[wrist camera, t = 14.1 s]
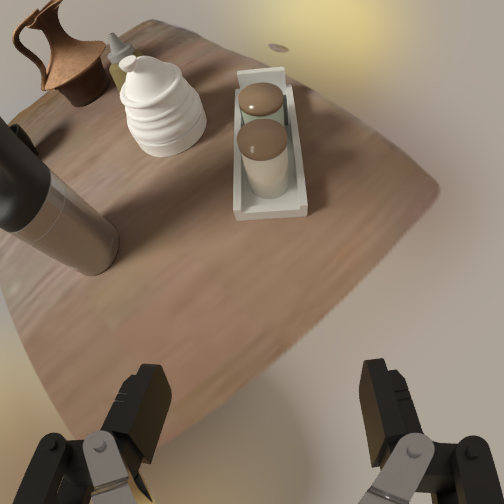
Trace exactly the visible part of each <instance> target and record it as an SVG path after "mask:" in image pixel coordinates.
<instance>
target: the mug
mask: <svg viewBox="0 0 504 504" xmlns="http://www.w3.org/2000/svg"><path fill="white" fill-rule="evenodd" d="M9 128H10V129H11V130H12V131H13V132H14V133H15V135H16V136H17V137H18V138H19V139H20V140H21V141H22V142H23V143H24V144H25V145H26V146H27V147H28V148H29V149H30V150H31V151H32V152H33V153H34V154H35V155H36V156H37V157H38V153H37V151H36V149H35V147H34V145H33V143H32V141H31V140H30V138H29V136H28V135H27V134H26V132H25V131H24V130H23V129H22V128H21V127H20V126H19V125H18V124H13V125H11V126H10V127H9Z"/></svg>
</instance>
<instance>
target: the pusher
mask: <svg viewBox="0 0 504 504" xmlns="http://www.w3.org/2000/svg"><path fill="white" fill-rule="evenodd" d="M238 103H239V102H238ZM239 108H240V106H239ZM240 112H241V116H242V111H241V108H240ZM283 112H284V124H285V125H289V124H288V109H287V96H286V95H283ZM242 121H243V125H244V120H243V116H242Z"/></svg>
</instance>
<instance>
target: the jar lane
mask: <svg viewBox="0 0 504 504" xmlns="http://www.w3.org/2000/svg"><path fill="white" fill-rule="evenodd" d="M237 76H238V81H239V85H240V89H235V121H234V176H233V212H234V214H235V217H236V219H237V221H246V220H259V219H274V218H289V217H305V216H307V210H308V203H307V194H306V185H305V177H304V169H303V161H302V153H301V145H300V138H299V131H298V124H297V117H296V111H295V104H294V98H293V91H292V85H291V84H286V82H285V70H284V67H275V68H263V69H253V70H244V71H237ZM261 82H265V83H271V84H274V85H276V86H278V87H279V88H280V89H281V90H282V93H283V95H286V96H287V109H288V124H289V125H285V130H286V132H287V154H288V168H289V187H288V189H287V191H286V192H285V193H284V194H283V195H281V196H280V197H278V198H275V199H263V198H260V197H258V196H256V195H255V194H254V193H253V192H252V190H251V188H250V184H249V181H248V177H247V173H246V170H245V166H244V162H243V159H242V155H241V152H240V150H239V147H238V144H237V134H238V132H239V130H240V129H241V128H242V127H243V126H244V125H243V121H242V116H241V112H240V108H239V103H238V95H239V93H240V92H241V91H242V90H243V89H244V88H245V87H247V86H249V85H251V84H254V83H261Z"/></svg>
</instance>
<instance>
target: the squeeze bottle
mask: <svg viewBox="0 0 504 504" xmlns="http://www.w3.org/2000/svg"><path fill="white" fill-rule="evenodd" d="M108 40H109V44H110V48H111V52H110V53H109V54H108V59H109V60H110V62H111V63H112V64H111V66H110V69H109V71H110V73H111V75H112V78H113V80H114V82H115V84H116V86H117V88H118V91H119V93H120V91H121V88H122V86H123V84H124V83H125V81H126V75H127V72H124V71H123V70H122V69H121V68H120V67H119V62H120V61H121V60H122V59H124V58H125V57H127V56H131V55H134V56H136V58H137V57H139V56H144V55H143V54H142V52H140V51H137V50H135V51H134V48H133V46H132V44H131V43H125V44H124V43H123V42H122V41H121V40H120V39H119V38H118V37H117V36H116V35H115V34H114V33H111V34H109V35H108Z"/></svg>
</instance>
